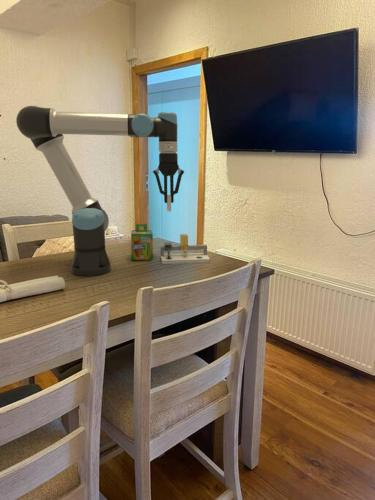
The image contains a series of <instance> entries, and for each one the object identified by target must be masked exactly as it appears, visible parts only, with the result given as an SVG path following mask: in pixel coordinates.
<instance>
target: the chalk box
mask: <svg viewBox="0 0 375 500" xmlns="http://www.w3.org/2000/svg"><path fill="white" fill-rule="evenodd" d="M140 227H143V229H140ZM130 232H131V236H130V238H131V239H130V244H131V246H130V247H131V261H152V260H154V259H153V257H154V256H153V255H154V253H153V248H154V247H153V244H154V243H153V241H154V240H153V239H154V236H153V235H154V234H153V231H152V229H151V230H150V229H148V225H147V223H137V224H136V225H135V229H134V230H131V231H130Z"/></svg>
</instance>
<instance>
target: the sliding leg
mask: <svg viewBox="0 0 375 500" xmlns="http://www.w3.org/2000/svg"><path fill="white" fill-rule="evenodd" d="M188 245H189V235H188V234H187V233H185V234H184V233H183V234H182V233H181V234H179V246H181V250H180V251H183V254H184V257H186V254H188V251H189V250H188Z"/></svg>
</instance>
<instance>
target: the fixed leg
mask: <svg viewBox="0 0 375 500" xmlns="http://www.w3.org/2000/svg"><path fill="white" fill-rule="evenodd" d="M163 246H164V247H165V251H164V252H167V254H168V259H170V254H171V252H172V251H173V250H172V246H173V245H172V242H163Z"/></svg>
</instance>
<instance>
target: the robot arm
mask: <svg viewBox="0 0 375 500" xmlns="http://www.w3.org/2000/svg"><path fill="white" fill-rule="evenodd" d="M177 116H178V115H177V113H176V112H173V111H160V112H158V114H157V117H150V116H149V114H146V113H137V114H133V113H130V114H129V113H111V112H110V113H109V112H108V113H107V112H103V113H102V112H86V111H85V112H84V111H81V112H80V111H78V112H77V111H56V110H55V109H54V108H52V107H51V108H50V107H41V106H36V105H26V106H24V107H22V108H21V109H20V110H19V111H18V113H17V115H16V117H15V118H16V123H15V124H16V126H17V128H18V131H19V132H20V133H21V134H22V135H23V136H24V137H25V138H28V139H30V141H31V143H32V144H33V146H34V149H36V151H39V152H41V153H42V154H43V155H44V157H45V160H46V162H47V163H48V164H49V167H50V169H51V171H52V172H53V173H54V176H55V177H56V179H57V181H58V183H59V185H60V187H61V189H62V190H63V191H64V192H63V193H64V194H65V195H66V197H67V199H68V201H69V203H70V205H71V206H72V209H71V214H72V216H71V223H72V233H73V234H72V235H73V246H74V253H73V258H72V260H71V261H72V262H71V265H70V272H71V273H72V274H73V275H76V276H81V277H92V276H99V275H103V274H106V273H109V272H110V271H111V270H112V263H111V260H110V259H109V255H108V253H107V249H106V231H107V229H108V227H109V223H110V222H109V216H108V213H107V212H106V211H105V210H104V208H102V206H101V203H99V200H98V199H96V198H94V197H92V194H91V193H90V191H89V189H88V188H87V186H86V184H85V182H84V180H83V178H82V176H81V174H80V172H79V171H78V169H77V167H76V165H75V163H74V162H73V160H72V158H71V156H70V154H69V151H68V150H67V148H66V147H65V144H64V142H63V141H64V138H65V137H64V135H80V136H82V135H85V136H87V135H88V136H89V135H90V136H122V137H123V136H124V137H126V136H128V137H130V138H136V139H137V138H138V139H139V138H158V152H159V154H158V166H157V168H156V169H154V170H153V171H152V173H153V174H154V176H155V179H156V183H157V186H158V190H159V194H161V195H163V196H164V197H163V199H164V203H165V204H166V210H167V212H172V204H173V203H174V202H175V201H174V197H175V196H174V195H176V194H179V190H180V189H179V188H180V185H181V181H182V176H183V174H184V173H185V170H183V169H181V168H180V165H179V163H178V159H179V158H178V117H177ZM160 173H161V175H162V176H163V187H162V182H161V179H160V176H159V174H160ZM176 174H178V175H177V179H176V183H175V185H174V176H175V175H176ZM168 176H169V194H168ZM174 186H175V187H174Z"/></svg>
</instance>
